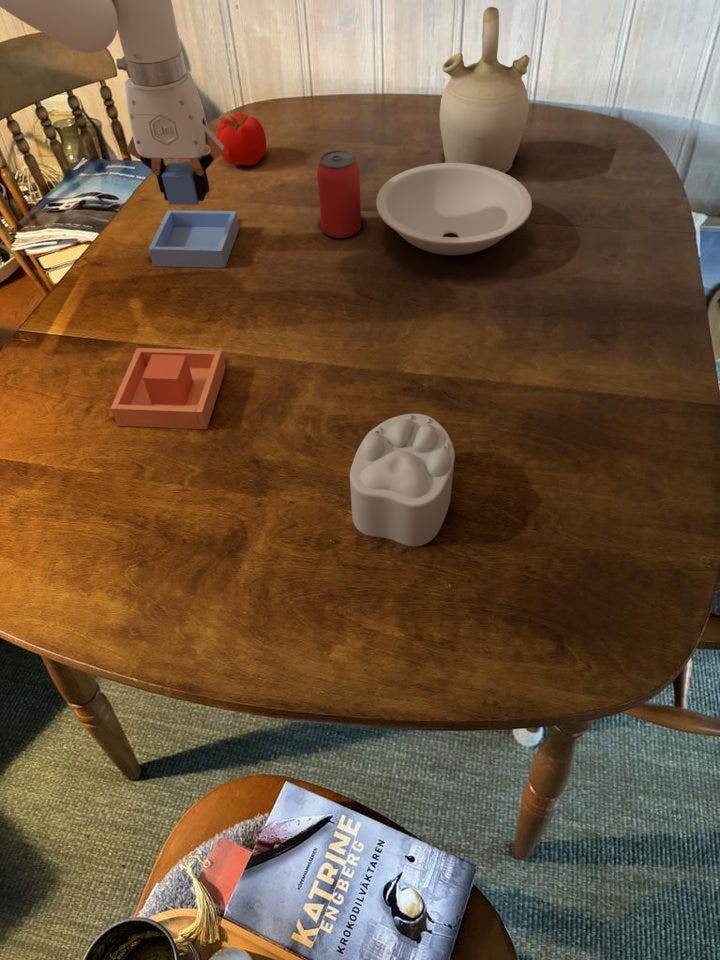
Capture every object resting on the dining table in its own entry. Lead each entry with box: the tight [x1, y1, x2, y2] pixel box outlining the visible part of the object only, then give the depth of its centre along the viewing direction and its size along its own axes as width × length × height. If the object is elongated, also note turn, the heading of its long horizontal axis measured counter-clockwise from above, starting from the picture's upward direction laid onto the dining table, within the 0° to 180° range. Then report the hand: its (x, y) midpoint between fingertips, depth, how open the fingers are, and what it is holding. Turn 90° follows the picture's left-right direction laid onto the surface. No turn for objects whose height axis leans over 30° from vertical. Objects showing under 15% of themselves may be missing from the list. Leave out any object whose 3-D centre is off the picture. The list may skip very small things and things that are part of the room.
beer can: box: [316, 149, 362, 239], centre depth 114 cm, size 7×7×12 cm
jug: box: [439, 6, 530, 174], centre depth 122 cm, size 15×16×25 cm
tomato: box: [216, 113, 267, 167], centre depth 132 cm, size 9×9×8 cm
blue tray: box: [148, 209, 240, 269], centre depth 116 cm, size 12×12×3 cm
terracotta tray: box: [110, 347, 227, 430], centre depth 93 cm, size 12×12×3 cm
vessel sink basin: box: [375, 162, 533, 256], centre depth 114 cm, size 24×24×7 cm
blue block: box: [162, 161, 200, 206], centre depth 109 cm, size 4×4×4 cm
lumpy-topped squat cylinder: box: [349, 413, 456, 547], centre depth 79 cm, size 10×13×9 cm
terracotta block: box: [143, 354, 193, 405], centre depth 92 cm, size 4×4×4 cm
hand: (186, 195), depth 110 cm, fingers closed on blue block, 4 cm apart
